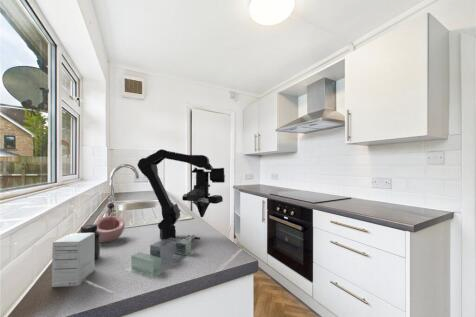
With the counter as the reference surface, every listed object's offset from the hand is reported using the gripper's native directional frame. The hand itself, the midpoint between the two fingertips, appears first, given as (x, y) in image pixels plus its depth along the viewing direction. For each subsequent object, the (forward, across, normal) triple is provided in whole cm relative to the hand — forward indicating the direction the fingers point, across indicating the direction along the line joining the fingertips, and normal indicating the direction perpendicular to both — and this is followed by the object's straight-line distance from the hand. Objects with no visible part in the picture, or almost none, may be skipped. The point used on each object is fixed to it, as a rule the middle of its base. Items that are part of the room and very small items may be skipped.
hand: (201, 217), depth 91 cm
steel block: (+10, 0, -23) cm, 25 cm away
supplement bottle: (+11, -26, -33) cm, 43 cm away
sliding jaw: (+9, 0, -11) cm, 15 cm away
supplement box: (+11, -16, -42) cm, 46 cm away
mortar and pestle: (+11, -37, -19) cm, 43 cm away
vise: (+10, 0, -23) cm, 25 cm away
